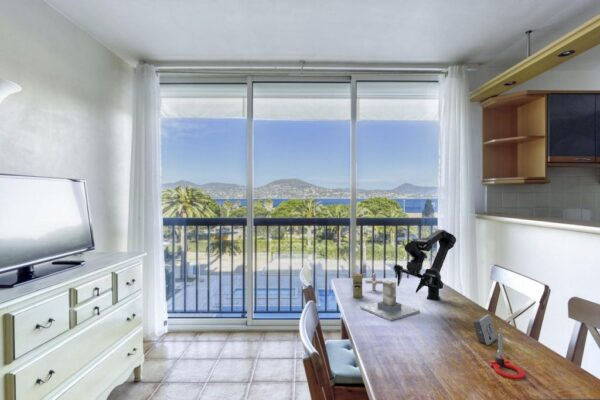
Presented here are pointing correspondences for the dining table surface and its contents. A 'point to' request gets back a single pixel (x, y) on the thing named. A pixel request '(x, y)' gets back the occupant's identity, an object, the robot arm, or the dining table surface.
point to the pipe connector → (373, 282)
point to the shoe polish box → (357, 285)
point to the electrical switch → (485, 329)
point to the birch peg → (389, 293)
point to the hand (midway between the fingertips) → (406, 289)
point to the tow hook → (505, 362)
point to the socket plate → (390, 310)
